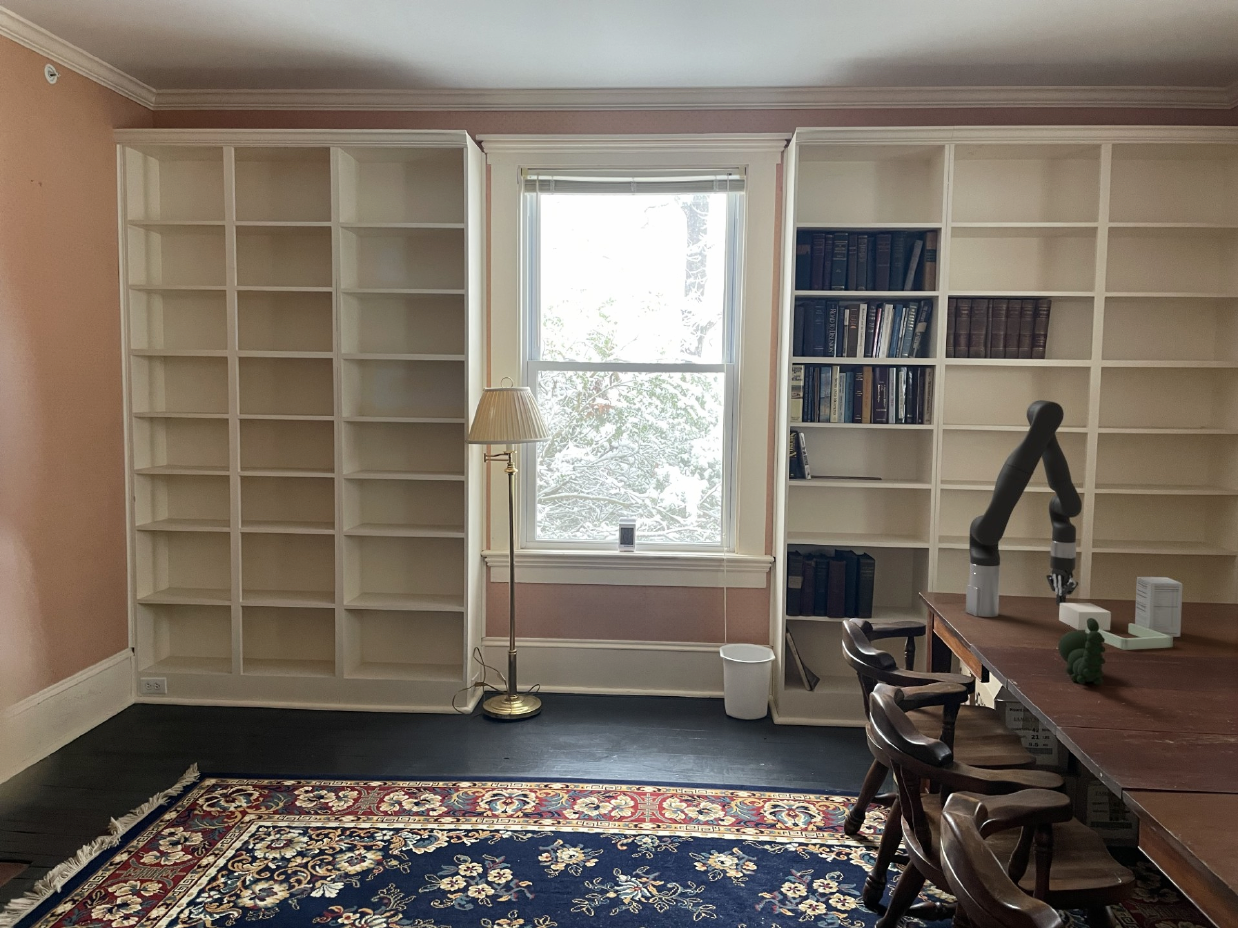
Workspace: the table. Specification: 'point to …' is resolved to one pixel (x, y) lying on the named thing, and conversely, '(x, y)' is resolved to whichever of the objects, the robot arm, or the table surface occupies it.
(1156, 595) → the supplement box
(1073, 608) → the carton
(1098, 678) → the toy figurine
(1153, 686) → the table surface
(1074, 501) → the robot arm
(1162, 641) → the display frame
